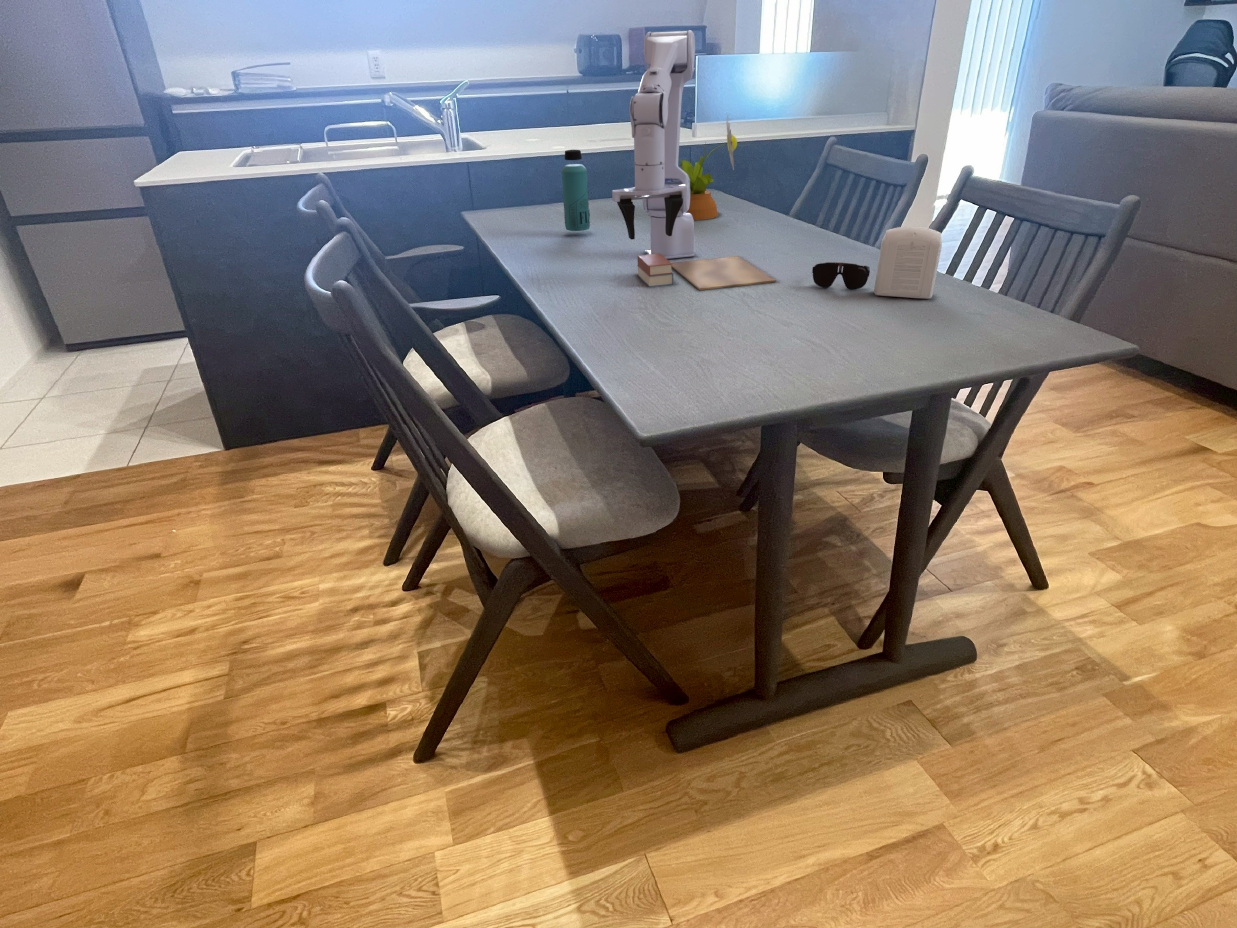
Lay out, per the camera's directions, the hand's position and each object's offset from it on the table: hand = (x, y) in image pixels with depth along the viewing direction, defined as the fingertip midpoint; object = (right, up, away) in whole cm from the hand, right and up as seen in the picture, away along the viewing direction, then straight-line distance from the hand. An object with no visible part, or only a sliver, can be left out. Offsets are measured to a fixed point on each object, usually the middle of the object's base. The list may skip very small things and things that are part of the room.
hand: (650, 236), depth 147 cm
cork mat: (+15, -6, +7) cm, 17 cm away
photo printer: (+46, -14, -10) cm, 49 cm away
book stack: (+1, -8, +4) cm, 9 cm away
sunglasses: (+37, -9, -1) cm, 39 cm away
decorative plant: (+13, +24, +58) cm, 64 cm away
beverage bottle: (-17, +13, +42) cm, 47 cm away
